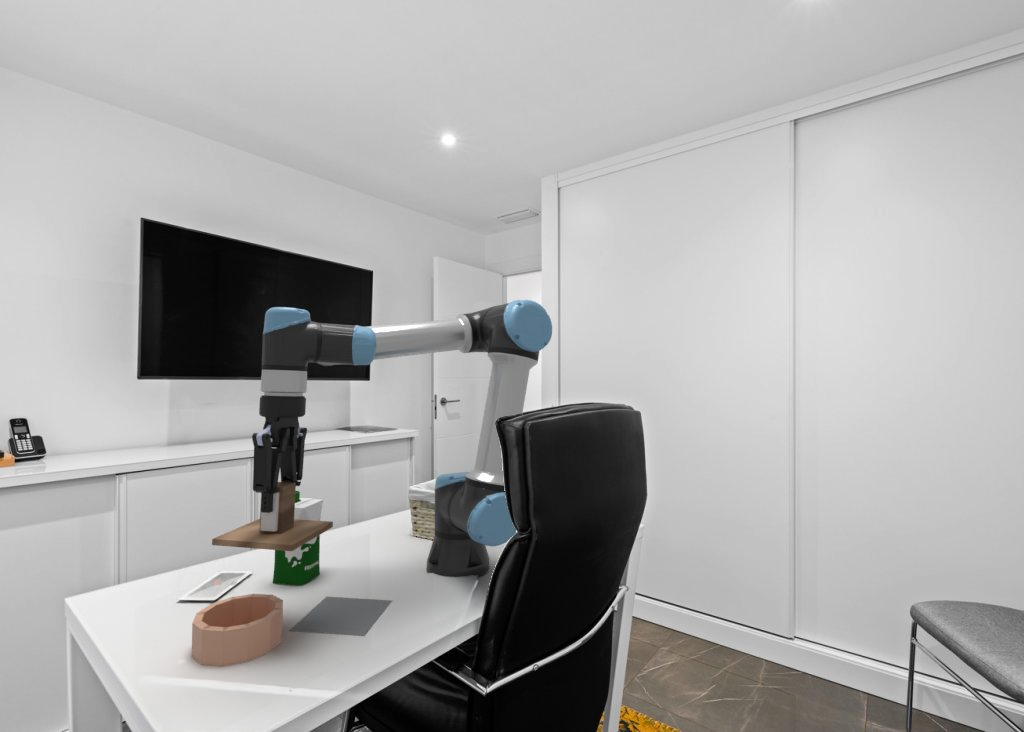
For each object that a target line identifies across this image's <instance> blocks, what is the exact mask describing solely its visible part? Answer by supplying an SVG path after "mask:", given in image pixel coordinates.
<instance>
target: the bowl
mask: <svg viewBox="0 0 1024 732" xmlns="http://www.w3.org/2000/svg"><path fill="white" fill-rule="evenodd" d="M283 609H284V600H283V599H281V598H280V597H278V596H276V595H273V594H267V593H266V594H265V593H250V594H243V595H236V596H231V597H228V598H224V599H222V600H219V601H216V602H213V603H210V604H208V605H207V606H206V607H204V608H202V609H201V610H199V611H197V612H196V613H195V616H194V618H193V621H192V626H191V628H192V629H191V630H192V631H191V658H192V659H193V660H195V661H196V662H197V663H198V664H200V665H201V666H212V667H226V666H227V667H228V666H231V665H232V666H233V665H236V664H241V663H248V662H250V661H252V660H254V659H256V658H258V657H261V656H264V655H265V654H268V653H270V652H272V650H273V649H274V648H276V647H277V646H278V645H279V644H280V643H281V642H282V641H283V617H284V616H283V614H284V612H283V611H284V610H283Z"/></svg>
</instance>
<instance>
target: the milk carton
mask: <svg viewBox="0 0 1024 732" xmlns="http://www.w3.org/2000/svg"><path fill="white" fill-rule="evenodd" d="M300 495H301V494H300V491H299V490H295V510H294V519H301V520H315V521H321V517H322V516H321V515H322V509H323V502H324V499H316V498H313V497H312V498H311V497H309V498H308V497H307V498H305V497H300ZM320 538H321V534H320V535H318V536H317V537H315V538H313V539H312V540H310V541H308V542H307V543H305V544H303V545H302V546H300V547H298V548H297V549H295V550H293V551H282V550H274V565H273V566H274V567H273V576H272V578H273V579H272V584H277V585H285V586H287V585H288V586H295V587H302V586H305V585H306V584H308V583H309V582H311V581H313V580H314V579H316V578H317V577H318V576H319V575H320V574H321V573H320V572H321V571H320V547H321V545H320V543H321V542H320V541H321V539H320Z"/></svg>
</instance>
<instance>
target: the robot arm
mask: <svg viewBox="0 0 1024 732" xmlns="http://www.w3.org/2000/svg"><path fill="white" fill-rule="evenodd" d="M552 334H553V323H552V320H551V317H550V315H549V314H548V312H547V310H546V309H545V308H544V306H542V305H541V304H539V303H538V302H536V301H534V300H531V299H522V300H521V299H517V300H516V299H515V300H513V301H510V302H508V303H503V304H498V305H494V306H490V307H487V308H484V309H482V310H477V311H474V312H469V313H460V314H458V315H456V317H455V318H451V319H449V318H448V319H439V320H438V319H437V320H427V321H426V320H425V321H414V322H404V323H391V324H380V325H379V324H378V325H369V326H362V325H358V324H355V325H351V324H340V323H339V324H338V323H322V322H316V321H312V319H311V313H310V312H309V311H308V310H306V309H304V308H303V309H301V308H297V307H289V306H288V307H287V306H274V307H271V308H269V309H267V310H266V311H265V314H264V321H263V332H262V351H261V352H262V353H261V376H260V382H261V383H260V391H261V393H263V395H261V396H260V397H259V408H258V412H259V413H258V414H259V416H261V417H264V418H265V421H264V424H263V430H262V431H260V432H254V433H253V434H252V435H251V439H252V444H253V472H252V490H253V492H255V493H258V494H259V493H260V495H261V494H262V500H261V499H260V510H261V526H260V530H261V531H277V530H278V511H279V492H276V490H277V483H278V482H279V478H280V482H291V483H296V487H300V486H301V484H302V479H303V475H304V473H303V472H304V459H305V456H304V455H305V444H306V443H305V442H306V441H305V440H306V439H307V438H306V436H307V434H308V429H307V427H301V426H300V422H299V418H301V417H305V415H306V410H307V408H306V407H307V405H306V404H307V398H306V396H304V394H306V393H307V391H308V388H307V387H308V386H307V385H308V365H309V363H314V364H318V365H321V366H323V367H328V366H329V367H331V366H334V365H335V366H336V365H349V366H350V365H353V366H369V365H371V364H372V363H373V361H374V360H375V361H376V360H385V359H390V358H391V359H392V358H399V357H408V356H409V357H410V356H416V355H418V356H419V355H427V354H434V353H443V352H451V351H452V352H453V351H459V352H460V353H462V354H468V353H487V357H488V358H489V360H490V362H492V364H491V365H492V366H491V371H490V376H489V381H488V382H489V383H488V387H487V394H486V401H485V404H484V412H483V417H482V422H481V423H482V424H481V428H480V434H479V440H478V445H477V446H478V447H477V450H476V457H475V462H474V463H475V464H474V468H473V469H472V470H470V471H465V472H451V473H444V474H441V475H438V476H437V477H436V478H435V479H436V483H435V489H434V491H435V536H434V540H432V543H431V547H430V550H429V552H428V556H427V558H426V572H427V574H434V575H437V576H440V577H447V578H464V577H471V576H475V577H476V576H477V578H479V577H481V576H483V575H485V574H487V573H488V572H489V571H490V556H489V553H488V550H487V547H498V546H502V545H504V544H506V543H507V542H508V541H509V540H510V539H511V537H512V536H513V537H514V536H515V535H516V533H517V532H516V529H515V528H514V526H513V524H512V521H511V518H510V515H509V511H508V508H507V502H506V498H505V491H504V482H503V471H502V458H501V448H500V443H499V439H498V435H497V431H496V427H495V421H496V419H498V418H500V417H503V416H508V415H513V414H518V413H522V414H523V413H524V412H523V411H524V407H525V400H526V395H527V387H528V382H529V377H530V370H531V369H532V368H534V367H535V366H536V365H538V362H539V356H540V351H542V350H543V349H544V348H545V347H547V346H548V345H549V343H550V341H551V340H552V339H551V338H552ZM513 537H512V538H513Z"/></svg>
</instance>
